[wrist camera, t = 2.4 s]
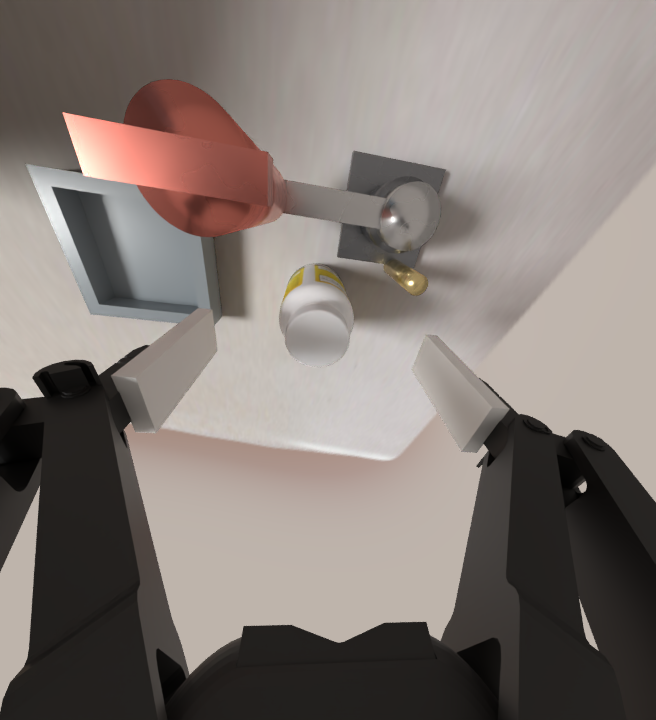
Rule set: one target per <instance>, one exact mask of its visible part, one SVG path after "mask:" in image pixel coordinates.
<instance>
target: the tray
mask: <svg viewBox="0 0 656 720" xmlns="http://www.w3.org/2000/svg"><path fill="white" fill-rule="evenodd" d="M26 167H27V169H28V171H29V174H30V176H31V178H32V181H33V183H34V185H35V187H36V190H37V192H38V194H39V197H40V199H41V201H42V204H43V206H44V208H45V210H46V213H47V215H48V217H49V220H50V222H51V224H52V227H53V229H54V231H55V234H56V236H57V238H58V240H59V243H60V245H61V247H62V250H63V252H64V254H65V257H66V259H67V261H68V263H69V266H70V268H71V270H72V273H73V275H74V277H75V280H76V282H77V284H78V287H79V289H80V291H81V293H82V296H83V298H84V300H85V303H86V305H87V307H88V310H89V312H90V314H93V315H103V316H112V317H122V318H132V319H142V320H151V321H161V322H171V323H180V322H181V321H182V320H184V319H185V318H186V317H187V316H189V315H190V314H191V313H193V312H194V311H195V310H196V309H198V308H202V309H211V310H212V312H213V320H214V325H215V324H216V323H217V322H218V321H219V319H220V318H221V317H222V310H221V301H220V292H219V283H218V274H217V265H216V256H215V247H214V238H213V237H199V236H195V235H191V234H188V233H186V232H184V231H181V230H179V229H178V228H176V227H174V226H173V225H171V224H170V223H168V222H167V221H166V220H164V219H163V218H162V217H161V216H160V215H159V214H158V213H157V212H156V211H155V210H154V209H153V208H152V207H151V206H150V205H149V203H148V202H147V201H146V199H145V198H144V197H143V195H142V193H141V192H140V190H139V189H138V187H137V185H136V184H130V183H124V182H118V181H112V180H106V179H100V178H94V177H88V176H84V175H83V173H79V172H73V171H67V170H61V169H55V168H49V167H42V166H36V165H30V164H26Z"/></svg>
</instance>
